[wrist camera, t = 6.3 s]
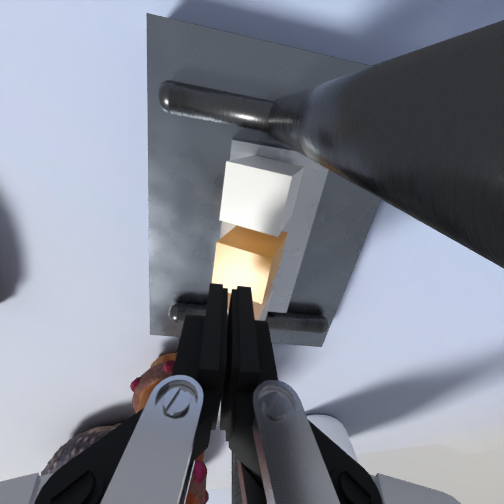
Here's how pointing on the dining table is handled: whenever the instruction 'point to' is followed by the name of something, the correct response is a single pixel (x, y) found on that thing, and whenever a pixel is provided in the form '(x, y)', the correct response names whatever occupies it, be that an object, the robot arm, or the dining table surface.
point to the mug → (142, 392)
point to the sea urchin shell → (76, 447)
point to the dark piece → (315, 160)
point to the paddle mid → (248, 260)
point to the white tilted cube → (260, 193)
